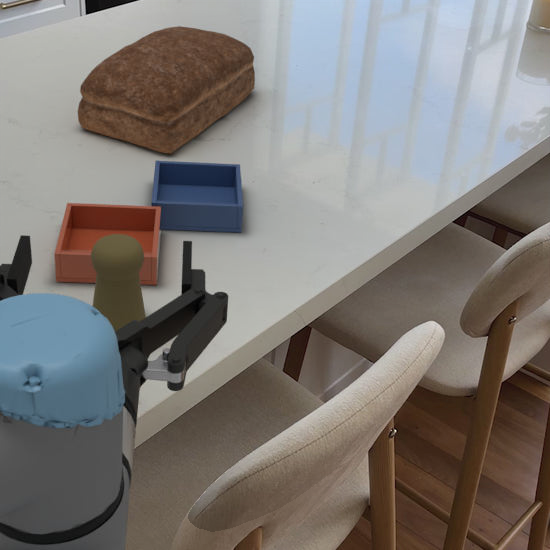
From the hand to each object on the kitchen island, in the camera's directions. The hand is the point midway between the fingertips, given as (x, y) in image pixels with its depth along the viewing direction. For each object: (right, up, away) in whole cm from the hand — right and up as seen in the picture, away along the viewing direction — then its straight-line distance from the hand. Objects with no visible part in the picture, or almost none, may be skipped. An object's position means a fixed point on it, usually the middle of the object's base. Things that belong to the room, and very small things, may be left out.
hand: (107, 251), depth 76 cm
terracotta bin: (-5, 0, +28) cm, 29 cm away
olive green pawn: (-2, -8, +17) cm, 19 cm away
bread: (-2, +24, +64) cm, 68 cm away
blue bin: (+4, +7, +39) cm, 40 cm away
